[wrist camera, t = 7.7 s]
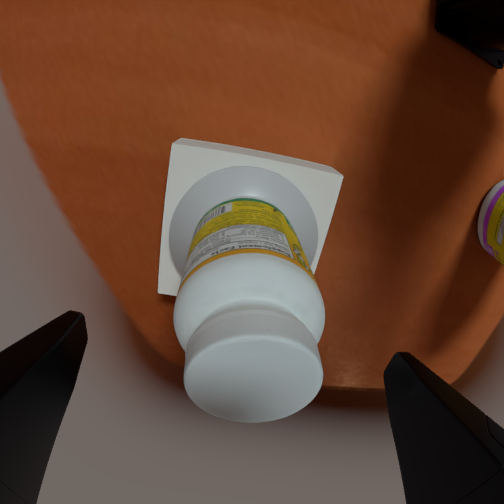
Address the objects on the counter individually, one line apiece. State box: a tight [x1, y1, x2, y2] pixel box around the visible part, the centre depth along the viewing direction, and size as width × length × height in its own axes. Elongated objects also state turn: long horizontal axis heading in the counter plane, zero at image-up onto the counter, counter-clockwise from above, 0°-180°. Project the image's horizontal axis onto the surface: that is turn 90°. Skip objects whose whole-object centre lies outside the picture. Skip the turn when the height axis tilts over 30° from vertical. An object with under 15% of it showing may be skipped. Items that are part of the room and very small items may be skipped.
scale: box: [158, 138, 344, 296], centre depth 19 cm, size 9×10×4 cm
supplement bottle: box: [173, 196, 325, 423], centre depth 13 cm, size 5×5×10 cm
